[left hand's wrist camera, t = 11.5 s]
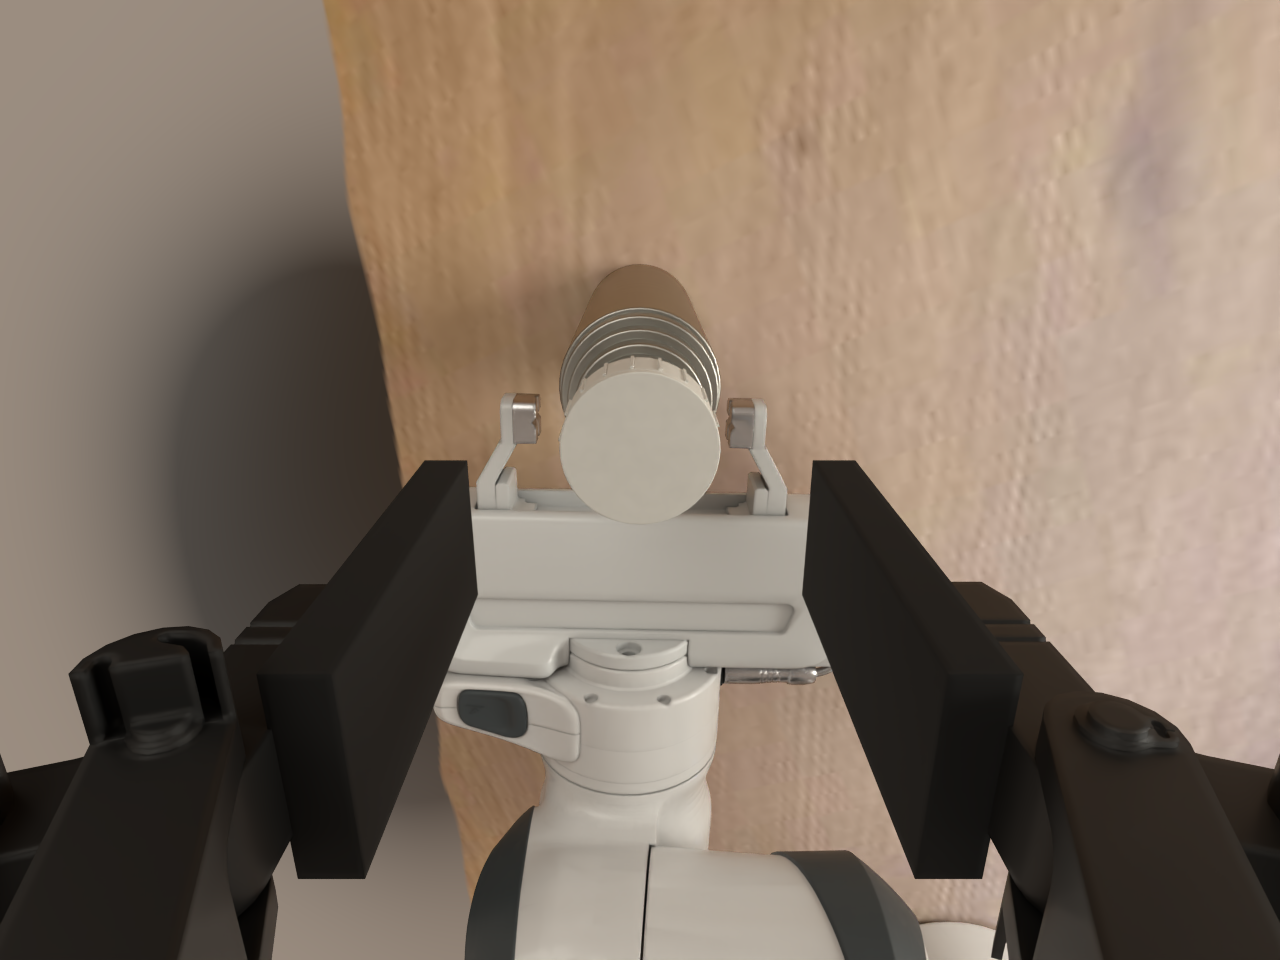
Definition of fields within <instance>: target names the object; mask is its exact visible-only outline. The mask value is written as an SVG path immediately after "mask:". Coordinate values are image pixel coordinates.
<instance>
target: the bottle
mask: <svg viewBox="0 0 1280 960" xmlns="http://www.w3.org/2000/svg"><path fill="white" fill-rule="evenodd" d="M631 356H634V358H635V357H644V358H653V359H658V358H661V359H662V361H665V362H668V363H670V364H672V365H674V366H677V367H678V368H680V369H681V370H683V368H684V369H685V370H686V372H687V374H688V375H689V376H691V377H692V378H693V379H694V380H695V381H696V382H697V384H698V385H699V386H700V387H701V388H702V387H704V389H705V392H706V395H707V398H708V401H709V403H710V406H711V409H712V411H715V414H716V411H717V408H718V404H719V399H720V390H721V382H720V373H719V367H718V364H717V361H716V358H715V356H714V353H713V351H712V349H711V347H710V344H709V342H708V340H707V338H706V335H705V333H704V331H703V329H702V326H701V324H700V322H699V320H698V317H697V315H696V313H695V311H694V308H693V306H692V304H691V302H690V299H689V297H688V295H687V293H686V291H685V289H684V288H683V286H682V285H681V284H680V283H679V281H678V280H677V279H676V278H674V277H673V276H672V275H671V274H669V273H668V272H666V271H664V270H662V269H660V268H657V267H654V266H650V265H641V264H638V265H630V266H625V267H623V268H620V269H618V270H616V271H614V272H612V273H611V274H609V275H608V276H607V277H606V278H604V279H603V280H602V281H601V283H600V284H599V285H598V286H597V288H596V289H595V291H594V293H593V295H592V297H591V299H590V302H589V304H588V306H587V308H586V311H585V313H584V315H583V317H582V320H581V322H580V324H579V326H578V329H577V331H576V333H575V335H574V338H573V340H572V342H571V344H570V347H569V349H568V351H567V353H566V356H565V358H564V361H563V364H562V368H561V373H560V380H559V391H560V400H561V404H562V408H563V411H564V414H565V411H566V408H567V405H568V402H569V399H570V400H572V399H573V397H574V395H575V393H576V392H577V390H578V389H579V387H580V386H581V384H582V381H583V379H584V378H586V379H587V378H588V377H589V376H590V375H592V374H593V373H594V372H596V371H597V370H598V369H600V368H602V367H604V364H605V363H608V364H610V363H612V362H615V361H618V360H622V359H627V358H631ZM565 418H566V415H565Z"/></svg>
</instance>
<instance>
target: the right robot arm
mask: <svg viewBox="0 0 1280 960" xmlns="http://www.w3.org/2000/svg"><path fill="white" fill-rule="evenodd" d="M540 407H541V401H540V394H523V393H505V394H504V396H503V397H502V399H501V405H500V424H501V439H500V441H499V443H498V444H497V446H496V448H495V450H494V452H493V453H492V455H491V457H490V459H489V460H488V462H487V464H486V466H485V468H484V469H483V471H482V473H481V475H480V477H479V478H478V480H477V482H476V485H477V487H469V491H470V503H471V515H472V527H473V539H474V551H475V564H476V576H477V588H478V596H477V599H476V601H475V604H474V606H473V609H472V611H471V614H470V616H469V619H468V621H467V624H466V626H465V629H464V631H463V634H462V636H461V639H460V641H459V644H458V646H457V649H456V651H455V654H454V656H453V659H452V661H451V664H450V667H449V669H448V672H447V674H446V677H445V679H444V682H443V684H442V687H441V689H440V692H439V694H438V697H437V699H436V702H435V704H434V711H435V713H436V715H437V716H438V717H439V718H440V719H441V720H442V721H444V722H446V723H449V724H451V725H454V726H458V727H461V728H465V729H468V730H472V731H476V732H479V733H483V734H486V735H489V736H493V737H496V738H499V739H502V740H505V741H508V742H511V743H514V744H517V745H520V746H522V747H525V748H527V749H530V750H532V751H535V752H537V753H539V754H541V757H542V760H543V763H544V767H545V776H546V778H545V780H544V783H543V786H542V790H541V794H540V802H539V806H537V807H535V806H534V805H533V806H532V807H531V808H529V809H528V810H527V811H526V812H525V813H524V814H523V815H522V816H521V817H520V818H519V819H518V820H517V821H516V822H515V823H514V824H513V826H512V827H511V828H510V829H509V830H508V832H507V833H506V834H505V835H504V836H503V838H502V839H501V840H500V841H499V843H498V844H497V845H496V846H495V847H494V849H493V850H492V852H491V854H490V855H489V857H488V859H487V861H486V863H485V865H484V867H483V869H482V872H481V874H480V877H479V879H478V882H477V885H476V889H475V892H474V896H473V900H472V904H471V909H470V914H469V919H468V925H467V933H466V944H465V960H998V959H995V958H991V953H992V946H993V940H994V936H995V931H996V930H994V929H991V928H988V927H984V926H980V925H976V924H970V923H963V922H933V923H925V924H919V922H918V920H917V918H916V916H915V914H914V913H913V912H912V911H911V909H910V908H909V907H908V906H907V904H906V903H905V902H904V901H903V900H902V899H901V897H900V896H899V895H898V894H897V893H896V892H895V891H894V890H893V889H892V888H891V887H890V886H889V885H888V884H887V883H886V882H885V881H884V880H883V879H882V878H881V877H880V876H879V875H877V874H876V873H875V872H874V871H873V870H872V869H871V868H870V867H869V866H867V865H866V864H865V863H864V862H863V861H861V860H860V859H859V858H858V857H856V856H855V855H854V854H853V853H851V852H849V851H846V850H841V851H782V852H774V853H771V854H770V855H769V854H756V853H743V852H730V851H717V850H708V844H709V835H710V825H711V797H710V792H709V788H708V785H707V782H706V774H707V772H708V770H709V768H710V766H711V763H712V761H713V757H714V754H715V749H716V740H717V727H718V713H719V698H720V685H722V684H760V683H766V682H767V683H771V682H781V683H787V684H791V685H805V684H811V683H814V682H815V680H816V677H818V676H823V675H826V674H828V673H831V672H832V669H831V667H830V664H829V661H828V659H827V656H826V654H825V651H824V649H823V646H822V644H821V641H820V639H819V636H818V634H817V631H816V629H815V626H814V624H813V621H812V619H811V616H810V614H809V611H808V609H807V606H806V604H805V601H804V599H803V596H802V588H803V576H804V564H805V551H806V539H807V527H808V515H809V503H810V494H787V487H786V485H785V483H784V481H783V479H782V477H781V475H780V473H779V471H778V469H777V467H776V465H775V463H774V461H773V459H772V457H771V455H770V453H769V451H768V449H767V447H766V445H765V435H766V422H767V407H766V404H765V402H764V400H763V399H757V398H728V402H727V413H728V415H729V418H728V419H727V420H726V431H725V436H726V439H727V440H728V445H729V447H730V448H747V449H749V451H750V453H751V455H752V457H753V459H754V461H755V463H756V464H757V466H758V468H759V470H760V472H761V474H760V473H759V472H750V473H749V474H748V482H747V493H732V492H705V493H704V495H703V496H702V497H701V498H700V499H699V500H698V501H697V502H696V503H695V504H694V505H693V506H692V507H690V508H689V509H688V510H686V511H685V512H683V513H681V514H680V515H678V516H675V517H673V518H671V519H668V520H665V521H662V522H657V523H652V524H628V523H622V522H618V521H615V520H612V519H609V518H607V517H605V516H602V515H600V514H599V513H597V512H595V511H594V510H592V509H591V508H590V507H588V506H587V505H586V504H585V503H584V502H583V501H582V500H581V499H580V498H579V497H578V496H577V495H576V493H575V492H574V491H573V490H572V489H544V488H517V473H516V469H515V468H514V467H505V468H504V466H505V464H506V462H507V461H508V459H509V457H510V455H511V454H512V452H513V450H514V448H515V447H516V445H517V444H536V443H537V440H538V436H539V435H540V433H541V416H540V415H539V413H538V411H539V409H540ZM503 468H504V469H503ZM816 667H819V668H816ZM1002 960H1009V958H1008V950H1007V943H1006V944H1005V948H1004V953H1003V957H1002Z"/></svg>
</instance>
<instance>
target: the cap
mask: <svg viewBox="0 0 1280 960" xmlns="http://www.w3.org/2000/svg"><path fill="white" fill-rule="evenodd" d="M564 415H566V418H565V421H564V424H563V427H562V430H561V433H560V436H559V441H560V459H561V464H562V468H563V472H564V474H565V477H566V479H567V481H568V483H569V485H570V486H571V488H572V490H573V491H574V492H575V493H576V495H577V496H578V497H579V498H580V499H581V500H582V501H583V502H584V503H585V504H586V505H587V506H588V507H590V508H591V509H592V510H594V511H595V512H597V513H599V514H600V515H602V516H605V517H607V518H609V519H612V520H615V521H618V522H622V523H628V524H652V523H657V522H662V521H665V520H668V519H671V518H673V517H675V516H678V515H680V514H681V513H683V512H685V511H686V510H688V509H689V508H690V507H692V506H693V505H694V504H695V503H696V502H697V501H698V500H699V499H700V498H701V497H702V496H703V495H704V493H705V492H706V491H707V489H708V488H709V486H710V485H711V483H712V481H713V479H714V477H715V474H716V471H717V468H718V464H719V460H720V453H721V449H720V437H719V432H718V428H717V427H719V423H718V420H717V417H716V414H715V411H712V409H711V406H710V403H709V401H708V398H707V395H706V392H705V389H704V387H702V388H701V387H700V386H699V385H698V384H697V382H696V381H695V380H694V379H693V378H692V377H691V376H689V375H688V374H687V372H686V370H685V369H684V368H683V370H681V369H680V368H678V367H677V366H674V365H672V364H670V363H668V362H665V361H662V359H661V358H658V359H653V358H644V357H635V358H634V356H631V358H627V359H622V360H618V361H615V362H612V363H610V364H608V363H605V364H604V367H602V368H600V369H598V370H597V371H596V372H594V373H593V374H592V375H590V376H589V377H588V378H587V379H586V378H584V379H583V381H582V384H581V386H580V387H579V389H578V390H577V392H576V393H575V395H574V397H573V399H572V400H570V399H569V402H568V405H567V408H566V411H565V414H564Z"/></svg>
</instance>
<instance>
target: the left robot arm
mask: <svg viewBox="0 0 1280 960" xmlns="http://www.w3.org/2000/svg"><path fill="white" fill-rule="evenodd" d="M477 596H478V588H477V576H476V564H475V551H474V539H473V527H472V515H471V503H470V491H469V479H468V467H467V461H424V462H423V463H422V465H421V466H420V467H419V469H418V470H417V471H416V472H415V474H414V475H413V476H412V477H411V479H410V480H409V481H408V482H407V484H406V485H405V486H404V488H403V489H402V490H401V491H400V493H399V494H398V495H397V496H396V498H395V499H394V500H393V502H392V503H391V504H390V505H389V507H388V508H387V509H386V510H385V512H384V513H383V514H382V515H381V517H380V518H379V519H378V521H377V522H376V523H375V524H374V526H373V527H372V528H371V529H370V531H369V532H368V533H367V534H366V536H365V537H364V538H363V539H362V541H361V542H360V543H359V545H358V546H357V547H356V548H355V550H354V551H353V552H352V554H351V555H350V556H349V557H348V558H347V560H346V561H345V562H344V564H343V565H342V566H341V567H340V569H339V570H338V571H337V572H336V574H335V575H334V576H333V578H332V579H331V580H330V581H329V583H328V584H299V585H297V586H296V587H294V588H292V589H290V590H289V591H287V592H285V593H284V594H282V595H280V596H279V597H277V598H275V599H273V600H272V601H270V602H269V603H268V604H267V605H266V606H265V607H264V608H263V609H262V610H261V612H260V613H259V614H258V615H257V616H256V617H255V618H254V619H253V621H252V622H251V623H250V627H246V628H245V629H244V631H243V632H242V633H241V634H240V635H239V636H238V637H237V638H236V640H235V644H234V645H230V646H229V647H228V648H227V650H226V651H225V652H223V648H222V643H221V639H220V637H218V636H217V635H215V634H214V633H212V632H211V631H210V630H207V629H202V628H196V627H190V626H184V627H168V628H160V629H155V630H151V631H147V632H142V633H137V634H134V635H131V636H128V637H126V638H123V639H120V640H118V641H115V642H113V643H110V644H108V645H105V646H104V647H102V648H100V649H99V650H97V651H95V652H94V653H92V654H90V655H89V656H87V657H85V658H84V659H82V661H81V662H80V663H79V664H78V665H77V666H76V667H75V668H74V669H73V670H72V671H71V672H70V673H69V677H70V681H71V684H72V687H73V690H74V694H75V697H76V701H77V704H78V707H79V710H80V714H81V717H82V720H83V723H84V727H85V730H86V733H87V736H88V740H89V743H90V746H89V747H88V749H87V752H86V754H85V756H84V757H81V758H77V759H73V760H68V761H63V762H58V763H53V764H48V765H43V766H38V767H33V768H28V769H23V770H18V771H13V772H9V773H7V772H6V769H5V766H4V764H3V761H2V758H1V755H0V960H272V952H273V944H274V936H275V927H276V919H277V911H278V903H277V896H276V890H275V885H274V881H273V876H272V873H273V872H274V870H275V868H276V866H277V864H278V862H279V860H280V858H281V857H282V855H283V853H284V851H285V849H286V847H287V845H288V843H289V842H291V847H292V852H293V857H294V862H295V867H296V872H297V877H298V879H365V878H366V875H367V872H368V870H369V867H370V865H371V862H372V860H373V857H374V855H375V852H376V850H377V847H378V845H379V842H380V840H381V837H382V835H383V832H384V830H385V827H386V825H387V822H388V820H389V817H390V815H391V812H392V810H393V807H394V805H395V802H396V800H397V797H398V795H399V792H400V789H401V787H402V785H403V782H404V780H405V777H406V775H407V772H408V769H409V767H410V764H411V762H412V759H413V757H414V754H415V752H416V749H417V747H418V744H419V742H420V739H421V737H422V734H423V732H424V729H425V727H426V724H427V722H428V719H429V717H430V714H431V712H432V709H433V707H434V704H435V702H436V699H437V697H438V694H439V692H440V689H441V687H442V684H443V682H444V679H445V677H446V674H447V672H448V669H449V667H450V664H451V661H452V659H453V656H454V654H455V651H456V649H457V646H458V644H459V641H460V639H461V636H462V634H463V631H464V629H465V626H466V624H467V621H468V619H469V616H470V614H471V611H472V609H473V606H474V604H475V601H476V599H477ZM802 596H803V599H804V601H805V604H806V606H807V609H808V611H809V614H810V616H811V619H812V621H813V624H814V626H815V629H816V631H817V634H818V636H819V639H820V641H821V644H822V646H823V649H824V651H825V654H826V656H827V659H828V661H829V664H830V667H831V669H832V672H833V674H834V677H835V679H836V682H837V684H838V687H839V689H840V692H841V694H842V697H843V699H844V702H845V704H846V707H847V709H848V712H849V714H850V717H851V719H852V722H853V724H854V727H855V729H856V732H857V734H858V737H859V739H860V742H861V744H862V747H863V749H864V752H865V754H866V757H867V759H868V762H869V764H870V767H871V770H872V772H873V775H874V777H875V780H876V782H877V785H878V787H879V790H880V792H881V795H882V797H883V800H884V802H885V805H886V807H887V810H888V812H889V815H890V817H891V820H892V822H893V825H894V827H895V830H896V832H897V835H898V837H899V840H900V842H901V845H902V847H903V850H904V852H905V855H906V857H907V860H908V862H909V865H910V867H911V870H912V872H913V875H914V878H915V879H982V877H983V872H984V867H985V862H986V857H987V852H988V847H989V842H990V838H991V840H992V841H993V843H994V845H995V847H996V849H997V851H998V853H999V854H1000V856H1001V858H1002V860H1003V862H1004V864H1005V866H1006V867H1007V869H1008V871H1009V872H1008V876H1007V881H1006V885H1005V890H1004V894H1003V899H1002V904H1001V908H1000V913H999V917H998V922H997V926H996V931H995V936H994V940H993V946H992V953H991V958H995V959H998V960H1002V957H1003V953H1004V948H1005V944H1006V943H1007V950H1008V958H1009V960H1280V755H1279V758H1278V761H1277V763H1276V766H1275V769H1270V768H1265V767H1260V766H1255V765H1250V764H1245V763H1240V762H1235V761H1230V760H1225V759H1220V758H1215V757H1210V756H1205V755H1201V754H1197V753H1195V752H1194V750H1193V748H1192V746H1191V744H1190V743H1189V741H1188V740H1187V739H1186V738H1185V736H1184V735H1183V734H1182V733H1181V732H1180V730H1179V729H1178V728H1177V727H1176V726H1175V725H1173V724H1172V723H1170V722H1169V721H1168V720H1166V719H1165V718H1163V717H1162V716H1160V715H1159V714H1158V713H1156V712H1155V711H1152V710H1150V709H1148V708H1146V707H1143V706H1141V705H1139V704H1137V703H1135V702H1132V701H1130V700H1127V699H1123V698H1120V697H1116V696H1112V695H1108V694H1104V693H1098V692H1095V691H1094V690H1093V689H1092V688H1091V687H1090V686H1089V685H1088V684H1087V683H1086V681H1085V680H1084V679H1083V678H1082V677H1081V676H1080V675H1079V674H1078V673H1077V671H1076V670H1075V669H1074V668H1073V667H1072V666H1071V665H1070V664H1069V663H1068V662H1067V660H1066V659H1065V658H1064V657H1063V656H1062V655H1061V654H1060V653H1059V652H1058V650H1057V649H1056V648H1055V647H1054V646H1053V645H1052V644H1051V643H1050V642H1046V637H1045V636H1044V635H1043V634H1042V633H1041V632H1040V630H1039V629H1038V628H1037V627H1036V626H1035V625H1034V624H1030V619H1029V618H1028V617H1027V616H1026V615H1025V614H1024V613H1023V612H1022V611H1021V609H1020V608H1019V607H1018V606H1017V605H1016V604H1015V603H1014V602H1013V601H1012V600H1011V599H1010V598H1008V597H1006V596H1005V595H1003V594H1001V593H1000V592H998V591H996V590H994V589H993V588H991V587H989V586H988V585H986V584H984V583H982V582H951V581H950V580H949V579H948V577H947V576H946V575H945V574H944V572H943V571H942V570H941V569H940V567H939V566H938V565H937V564H936V562H935V561H934V560H933V558H932V557H931V556H930V555H929V553H928V552H927V551H926V550H925V548H924V547H923V546H922V545H921V543H920V542H919V541H918V539H917V538H916V537H915V536H914V534H913V533H912V532H911V531H910V529H909V528H908V527H907V526H906V524H905V523H904V522H903V520H902V519H901V518H900V517H899V515H898V514H897V513H896V512H895V510H894V509H893V508H892V507H891V505H890V504H889V503H888V501H887V500H886V499H885V498H884V496H883V495H882V494H881V493H880V491H879V490H878V489H877V488H876V486H875V485H874V484H873V482H872V481H871V480H870V479H869V477H868V476H867V475H866V474H865V472H864V471H863V470H862V469H861V467H860V466H859V465H858V463H857V462H856V461H813V467H812V479H811V491H810V503H809V515H808V527H807V539H806V551H805V564H804V576H803V588H802Z"/></svg>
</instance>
